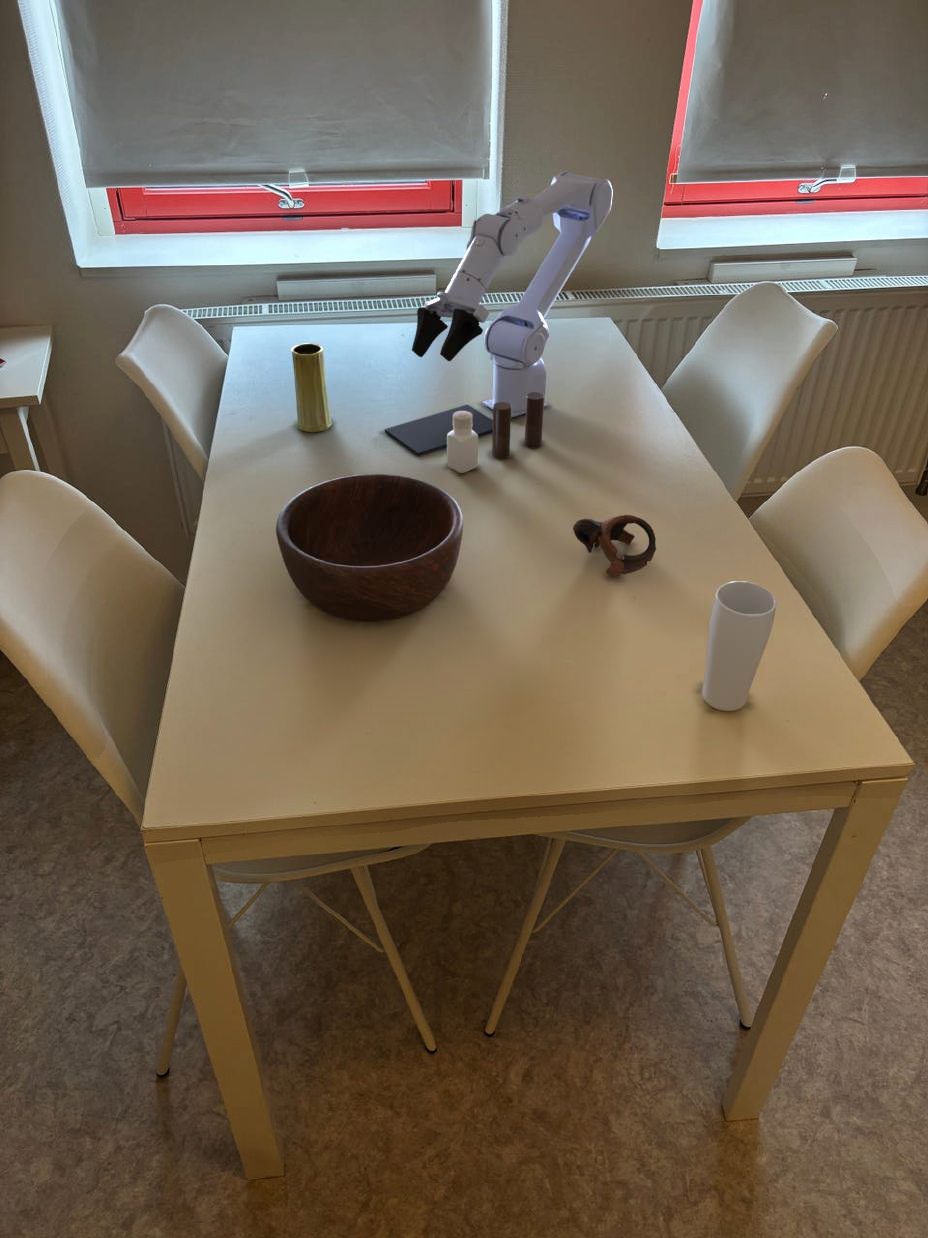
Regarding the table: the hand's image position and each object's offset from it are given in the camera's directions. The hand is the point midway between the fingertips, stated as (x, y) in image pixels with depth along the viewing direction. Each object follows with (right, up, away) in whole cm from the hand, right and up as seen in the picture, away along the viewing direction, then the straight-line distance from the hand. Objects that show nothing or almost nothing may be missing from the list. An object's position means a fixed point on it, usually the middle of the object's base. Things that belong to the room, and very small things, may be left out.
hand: (430, 355), depth 155 cm
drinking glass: (+37, -52, -39) cm, 75 cm away
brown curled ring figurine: (+27, -34, -16) cm, 46 cm away
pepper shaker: (+5, -17, +6) cm, 19 cm away
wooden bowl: (-7, -37, -20) cm, 43 cm away
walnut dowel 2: (+17, -12, +13) cm, 25 cm away
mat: (+2, -9, +17) cm, 19 cm away
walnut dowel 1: (+12, -14, +10) cm, 21 cm away
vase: (-22, -8, +19) cm, 29 cm away
